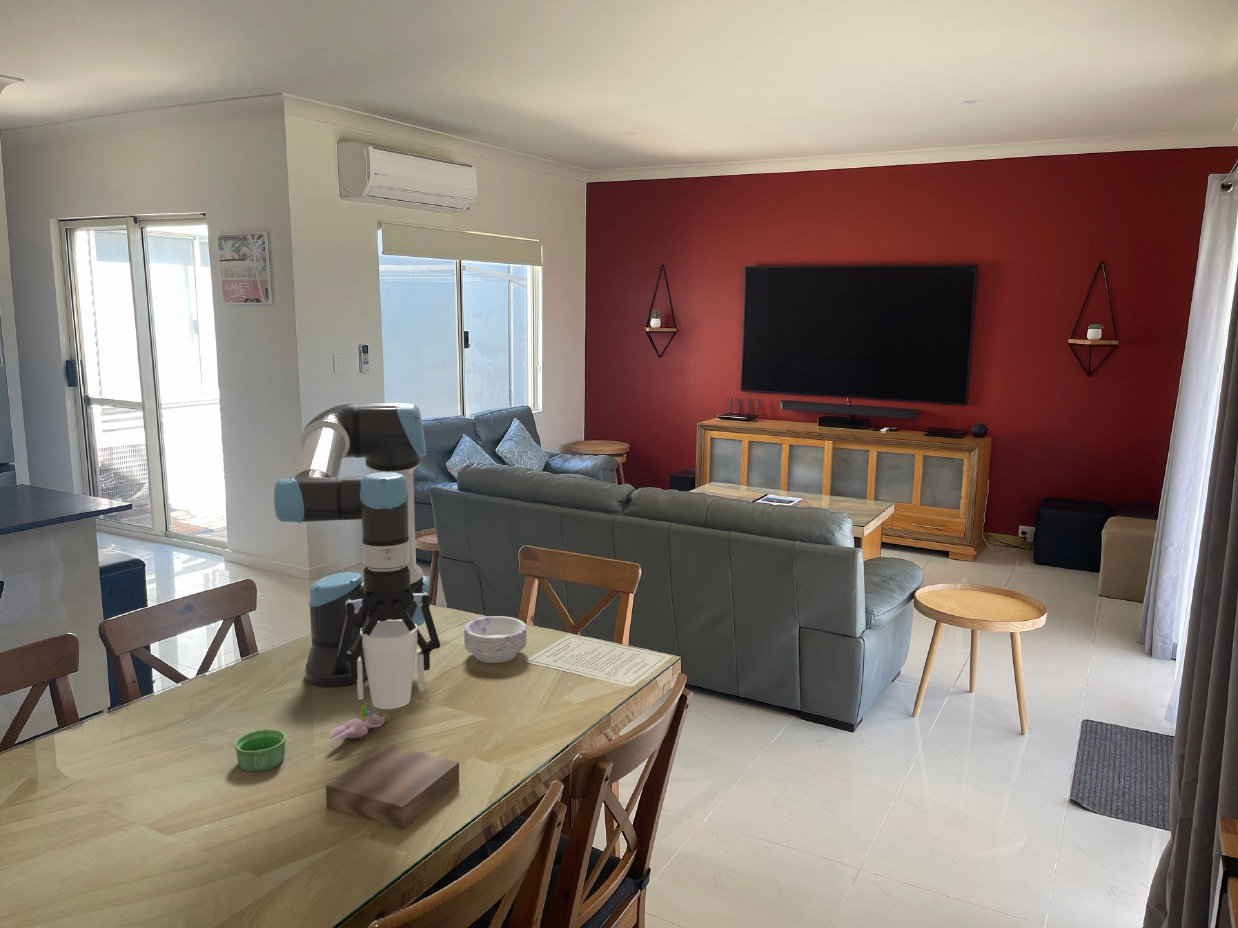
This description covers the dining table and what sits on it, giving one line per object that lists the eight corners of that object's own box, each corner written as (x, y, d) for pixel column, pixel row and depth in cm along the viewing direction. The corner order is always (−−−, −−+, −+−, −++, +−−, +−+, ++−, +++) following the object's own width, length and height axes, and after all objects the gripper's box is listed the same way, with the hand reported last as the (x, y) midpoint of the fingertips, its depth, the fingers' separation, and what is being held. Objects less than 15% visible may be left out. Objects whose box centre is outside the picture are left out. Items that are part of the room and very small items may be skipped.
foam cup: (404, 715, 146) (402, 640, 143) (353, 710, 147) (349, 636, 145) (428, 692, 155) (426, 621, 153) (379, 687, 157) (376, 617, 154)
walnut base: (326, 806, 150) (325, 784, 149) (387, 763, 164) (386, 743, 164) (403, 829, 144) (402, 806, 143) (459, 782, 158) (458, 762, 157)
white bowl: (523, 668, 209) (522, 637, 208) (459, 668, 210) (458, 636, 208) (530, 645, 224) (530, 615, 223) (470, 644, 225) (470, 614, 223)
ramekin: (297, 754, 168) (296, 733, 167) (264, 777, 160) (262, 754, 159) (259, 746, 171) (258, 725, 170) (224, 768, 162) (223, 746, 162)
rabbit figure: (370, 724, 183) (319, 744, 170) (372, 696, 183) (321, 713, 169) (394, 730, 181) (344, 751, 167) (396, 701, 181) (347, 719, 167)
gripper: (317, 578, 140) (324, 710, 143) (456, 565, 148) (459, 691, 151) (316, 565, 147) (322, 692, 150) (448, 554, 155) (451, 675, 158)
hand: (391, 691), depth 151 cm, fingers closed on foam cup, 9 cm apart
